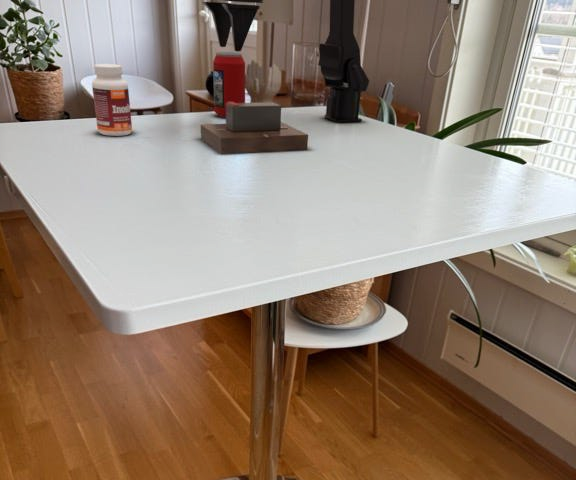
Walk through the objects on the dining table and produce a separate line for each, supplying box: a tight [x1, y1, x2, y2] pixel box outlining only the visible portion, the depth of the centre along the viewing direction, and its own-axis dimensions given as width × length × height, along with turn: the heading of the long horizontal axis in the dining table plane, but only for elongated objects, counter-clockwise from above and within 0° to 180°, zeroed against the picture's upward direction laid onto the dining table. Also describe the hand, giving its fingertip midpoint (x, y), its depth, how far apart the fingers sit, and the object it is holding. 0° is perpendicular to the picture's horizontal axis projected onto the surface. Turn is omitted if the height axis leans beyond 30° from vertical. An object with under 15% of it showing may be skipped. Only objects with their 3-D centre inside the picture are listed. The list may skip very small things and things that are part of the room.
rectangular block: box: [225, 101, 282, 132], centre depth 99 cm, size 9×4×4 cm, turn 113°
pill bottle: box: [91, 63, 133, 137], centre depth 101 cm, size 6×6×11 cm
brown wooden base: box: [200, 121, 309, 155], centre depth 101 cm, size 16×13×3 cm
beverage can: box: [212, 51, 246, 119], centre depth 121 cm, size 7×7×12 cm
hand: (230, 49), depth 104 cm, fingers open, 9 cm apart
